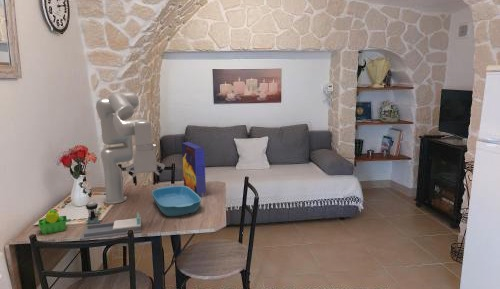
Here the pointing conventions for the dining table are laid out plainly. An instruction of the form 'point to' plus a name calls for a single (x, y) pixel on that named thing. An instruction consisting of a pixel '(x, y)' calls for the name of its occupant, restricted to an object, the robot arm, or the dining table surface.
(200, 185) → the cereal box
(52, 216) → the fruit basket
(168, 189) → the casserole dish
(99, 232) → the dock
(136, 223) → the shutter lid
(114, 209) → the dining table surface
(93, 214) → the push button
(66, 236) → the dining table surface
